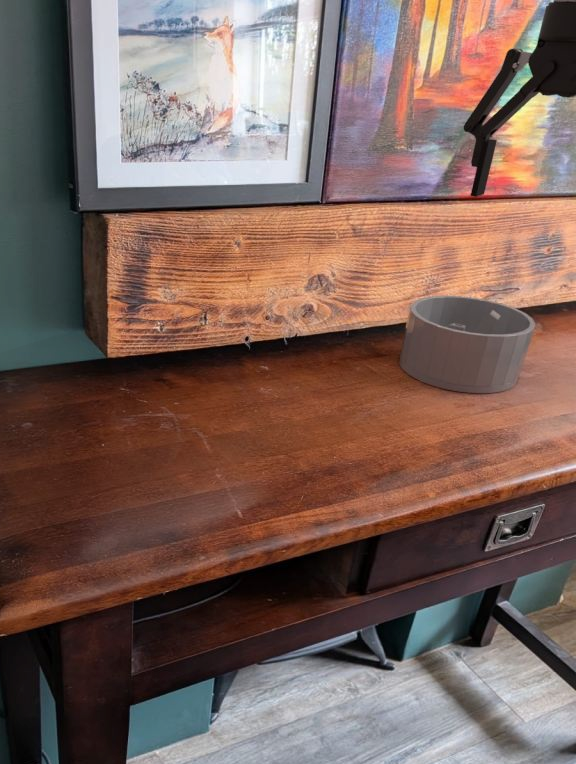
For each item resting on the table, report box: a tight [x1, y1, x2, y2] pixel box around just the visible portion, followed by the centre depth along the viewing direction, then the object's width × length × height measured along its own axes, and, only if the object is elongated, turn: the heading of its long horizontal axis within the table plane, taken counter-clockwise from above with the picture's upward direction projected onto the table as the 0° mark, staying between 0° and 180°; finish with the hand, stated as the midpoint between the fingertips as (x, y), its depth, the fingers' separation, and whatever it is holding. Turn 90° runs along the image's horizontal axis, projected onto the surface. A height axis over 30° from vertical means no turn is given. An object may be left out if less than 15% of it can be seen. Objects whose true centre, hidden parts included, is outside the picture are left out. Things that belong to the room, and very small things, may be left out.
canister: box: [398, 295, 536, 394], centre depth 104 cm, size 16×16×8 cm
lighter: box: [447, 310, 500, 334], centre depth 103 cm, size 7×2×8 cm, turn 61°
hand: (528, 203), depth 94 cm, fingers open, 13 cm apart
